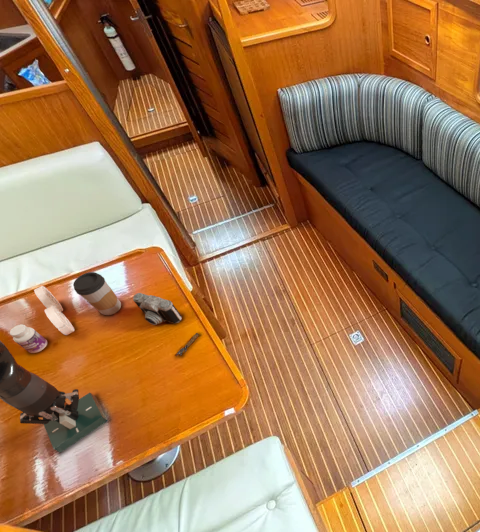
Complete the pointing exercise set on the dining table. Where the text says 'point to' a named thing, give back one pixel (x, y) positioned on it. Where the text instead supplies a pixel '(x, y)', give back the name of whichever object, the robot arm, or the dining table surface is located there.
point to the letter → (54, 310)
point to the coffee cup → (97, 293)
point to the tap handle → (66, 421)
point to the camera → (157, 309)
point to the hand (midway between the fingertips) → (71, 419)
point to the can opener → (188, 344)
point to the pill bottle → (28, 338)
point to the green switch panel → (77, 424)
